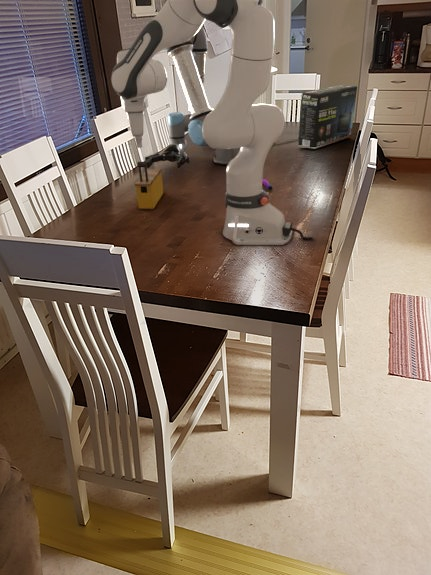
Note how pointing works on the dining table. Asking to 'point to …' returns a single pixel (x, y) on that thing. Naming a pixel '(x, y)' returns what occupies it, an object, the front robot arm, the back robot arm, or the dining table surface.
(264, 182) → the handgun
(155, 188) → the chest
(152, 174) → the lid
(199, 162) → the dining table surface
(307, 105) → the router box
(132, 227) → the dining table surface
